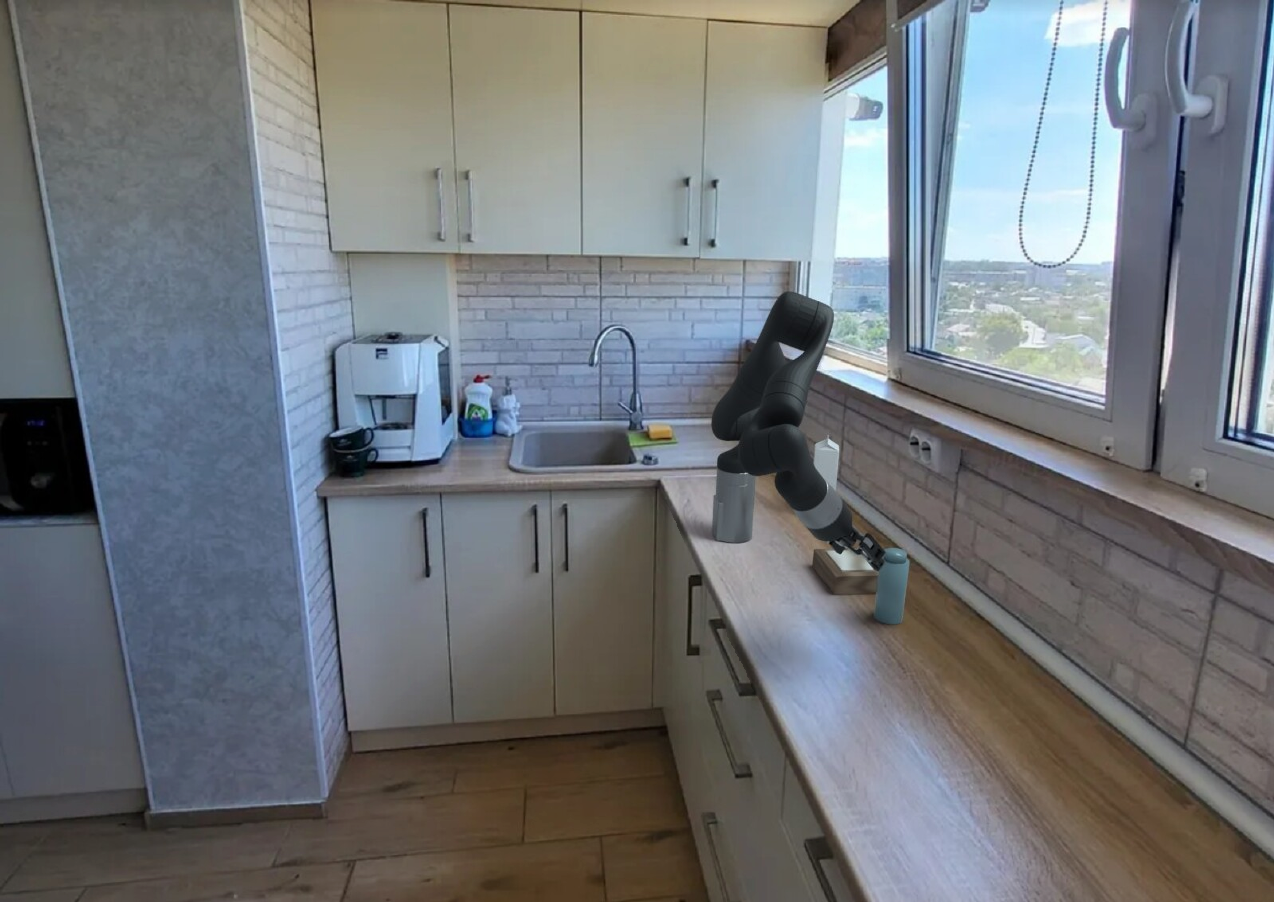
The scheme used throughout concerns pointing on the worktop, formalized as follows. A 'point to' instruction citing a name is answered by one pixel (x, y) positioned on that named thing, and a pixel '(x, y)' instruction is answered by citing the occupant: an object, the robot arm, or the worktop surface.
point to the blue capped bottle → (892, 587)
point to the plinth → (845, 572)
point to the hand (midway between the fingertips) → (860, 557)
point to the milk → (827, 460)
